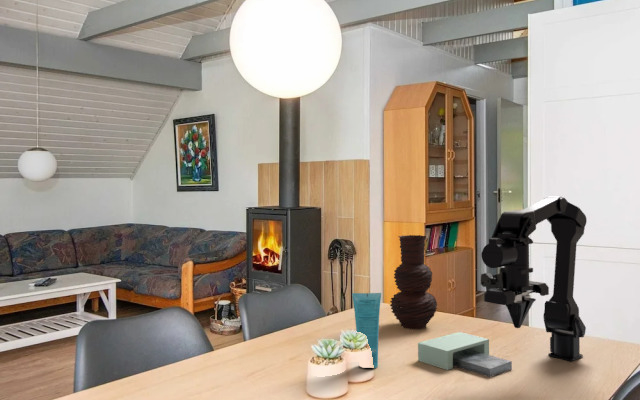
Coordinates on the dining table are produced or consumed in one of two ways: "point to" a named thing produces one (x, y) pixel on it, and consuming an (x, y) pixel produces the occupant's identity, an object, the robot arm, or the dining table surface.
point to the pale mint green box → (449, 348)
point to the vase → (413, 285)
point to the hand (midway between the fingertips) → (517, 327)
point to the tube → (368, 319)
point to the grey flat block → (480, 362)
